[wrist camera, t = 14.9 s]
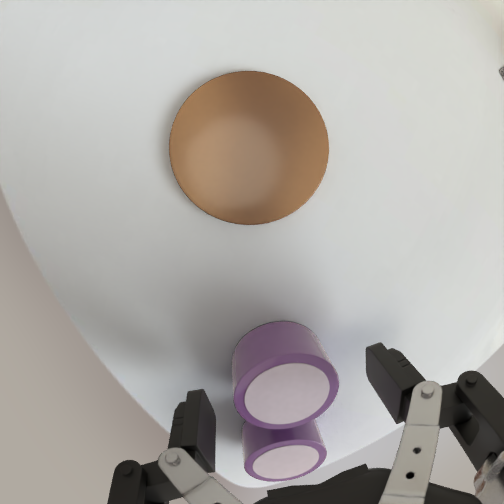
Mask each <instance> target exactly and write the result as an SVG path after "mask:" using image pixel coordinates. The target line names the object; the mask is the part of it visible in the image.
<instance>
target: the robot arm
mask: <svg viewBox="0 0 504 504" xmlns="http://www.w3.org/2000/svg"><path fill="white" fill-rule="evenodd" d="M366 373H367V377H368V380H369V382H370V383H371V385H372V386H373V388H374V389H375V391H376V392H377V394H378V396H379V397H380V399H381V400H382V402H383V403H384V405H385V407H386V408H387V410H388V411H389V413H390V414H391V416H392V418H393V419H394V421H395V422H396V424H399V423H401V422H403V421H404V422H405V423H406V424H405V426H404V430H403V434H402V438H401V441H400V445H399V448H398V451H397V455H396V458H395V461H394V464H393V467H392V469H386V468H372V469H368V467H367V465H366V464H363V465H361V466H358V467H355V468H352V469H349V470H346V471H344V472H341V473H339V474H338V475H336V476H334V477H332V478H330V479H328V480H326V481H325V482H323V483H321V484H318V485H300V486H288V487H283V488H278V489H273V490H268V491H267V494H268V497H265V498H263V499H261V500H259V501H257V502H256V503H254V504H504V398H503V397H502V396H501V395H500V393H498V391H497V390H496V389H495V388H494V387H493V386H492V385H491V384H490V383H489V382H488V381H487V380H486V378H485V377H484V376H483V375H482V374H480V373H479V372H477V371H466V372H464V373H462V374H461V375H460V376H459V378H458V381H457V382H456V383H452V384H448V385H443V386H440V385H439V384H438V383H436V382H434V381H426V380H425V379H424V377H423V376H422V375H421V374H420V373H419V372H418V371H417V370H416V368H415V367H414V366H413V365H412V364H410V362H409V361H408V359H406V357H405V356H404V355H403V354H402V353H401V352H400V351H398V350H395V349H393V348H391V349H389V350H387V349H386V347H385V346H384V345H383V344H382V343H381V342H379V343H377V344H374V345H371V346H369V347H366ZM173 418H174V419H173V422H172V428H171V433H170V439H169V445H168V449H167V450H165V451H164V452H163V453H161V455H160V456H159V458H158V460H157V461H154V462H151V463H147V464H144V465H140V464H139V463H138V462H136V461H134V460H126V461H123V462H121V463H120V464H118V466H117V467H116V468H115V471H114V475H113V479H112V484H111V488H110V493H109V498H108V503H107V504H169V501H170V500H173V499H177V498H181V497H183V498H184V499H185V500H186V501H187V502H188V503H189V504H243V503H242V502H240V500H238V499H237V498H236V497H235V496H234V495H232V494H231V493H230V492H229V491H228V490H227V489H226V488H224V487H223V486H222V485H221V484H220V483H219V482H218V481H217V480H216V479H214V478H213V477H211V476H209V474H208V473H211V472H215V438H216V417H215V413H214V410H213V408H212V405H211V403H210V401H209V399H208V397H207V395H206V393H205V391H204V389H200V390H193V391H188V393H187V399H186V402H180V403H179V405H178V406H177V408H176V409H175V412H174V417H173ZM444 427H449V428H450V430H451V431H452V432H453V434H454V436H455V437H456V439H457V440H458V442H459V443H460V445H461V446H462V448H463V449H464V451H465V453H466V454H467V456H468V457H469V459H470V461H471V462H472V464H473V465H474V467H475V469H476V470H477V473H476V475H475V478H474V486H475V490H476V493H475V496H474V495H472V494H470V493H466V492H461V491H458V490H454V489H450V488H447V487H443V486H440V485H436V484H433V483H430V482H429V479H430V475H431V471H432V467H433V462H434V458H435V453H436V447H437V442H438V436H439V430H440V428H444Z"/></svg>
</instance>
